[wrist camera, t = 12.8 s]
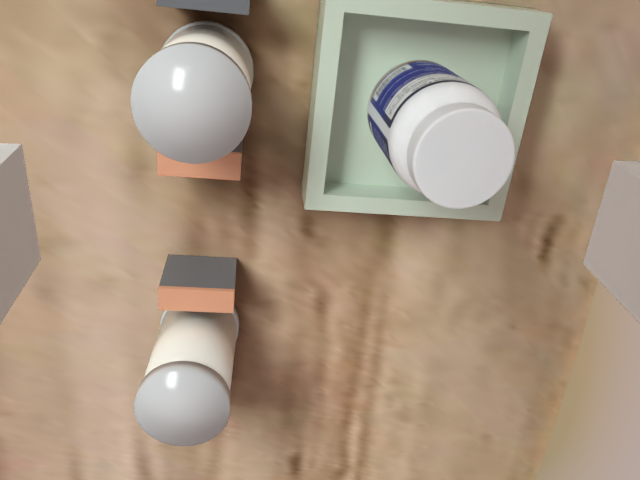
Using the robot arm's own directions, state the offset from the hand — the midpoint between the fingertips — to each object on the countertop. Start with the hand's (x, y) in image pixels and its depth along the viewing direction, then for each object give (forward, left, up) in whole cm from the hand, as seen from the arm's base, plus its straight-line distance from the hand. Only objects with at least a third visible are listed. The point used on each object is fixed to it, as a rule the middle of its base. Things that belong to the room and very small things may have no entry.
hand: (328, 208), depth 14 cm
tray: (+2, +8, -23) cm, 25 cm away
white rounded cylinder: (+18, -4, -23) cm, 30 cm away
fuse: (+1, -4, -23) cm, 24 cm away
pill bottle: (+2, +8, -23) cm, 24 cm away
